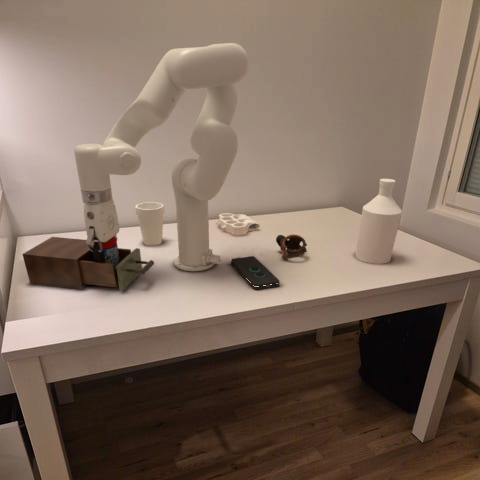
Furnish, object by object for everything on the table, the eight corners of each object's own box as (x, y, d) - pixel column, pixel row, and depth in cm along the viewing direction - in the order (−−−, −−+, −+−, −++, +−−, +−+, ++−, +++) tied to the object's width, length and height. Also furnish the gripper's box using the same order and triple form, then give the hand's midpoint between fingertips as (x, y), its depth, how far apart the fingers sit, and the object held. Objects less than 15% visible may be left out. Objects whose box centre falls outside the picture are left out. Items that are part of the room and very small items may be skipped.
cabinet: (106, 269, 128) (101, 241, 123) (82, 289, 116) (76, 259, 111) (58, 264, 131) (52, 236, 126) (30, 283, 119) (22, 254, 114)
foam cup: (133, 244, 146) (129, 207, 139) (148, 236, 154) (145, 200, 147) (157, 248, 143) (154, 211, 136) (171, 240, 151) (168, 204, 144)
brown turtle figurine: (311, 255, 142) (313, 239, 135) (295, 273, 139) (296, 258, 131) (282, 239, 146) (283, 223, 139) (266, 256, 143) (266, 241, 136)
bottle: (362, 247, 147) (375, 174, 134) (396, 255, 142) (413, 179, 129) (349, 258, 139) (361, 180, 126) (384, 267, 133) (401, 187, 120)
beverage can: (106, 281, 116) (100, 240, 110) (91, 275, 120) (84, 234, 113) (126, 273, 121) (120, 233, 115) (111, 267, 124) (105, 228, 118)
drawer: (159, 273, 124) (157, 250, 121) (142, 292, 113) (139, 268, 110) (96, 266, 128) (92, 244, 124) (73, 284, 117) (68, 260, 113)
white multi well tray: (263, 232, 159) (227, 237, 154) (244, 219, 173) (210, 223, 168) (263, 224, 157) (227, 228, 152) (244, 211, 171) (210, 214, 166)
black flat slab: (254, 285, 117) (229, 258, 133) (253, 290, 117) (229, 263, 133) (280, 280, 119) (254, 255, 135) (280, 286, 120) (253, 260, 136)
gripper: (94, 205, 101) (104, 273, 110) (125, 188, 115) (132, 249, 125) (65, 203, 102) (78, 270, 111) (99, 186, 117) (108, 247, 126)
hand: (106, 259), depth 118 cm, fingers closed on beverage can, 6 cm apart
